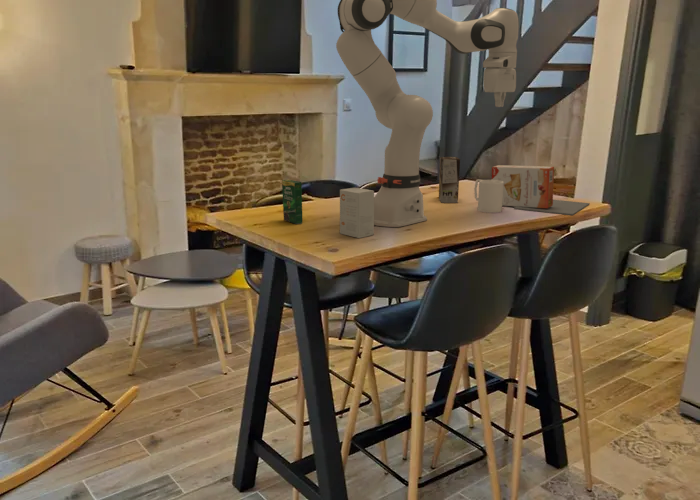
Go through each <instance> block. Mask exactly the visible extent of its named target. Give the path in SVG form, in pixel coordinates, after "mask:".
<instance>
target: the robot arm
mask: <svg viewBox="0 0 700 500" xmlns="http://www.w3.org/2000/svg"><path fill="white" fill-rule="evenodd" d="M337 5H338V6H337V18H338V21H339V28H340V31H341V32H342V33H341V34H340V35H339V37H338V38H337V41H336V43H335V44H336V51H337V53H338V55H339V57H340V59H341V61H342V62H343V64H344V66H345V68H346V69H347V71H348V72H349V74H351V76H352V78H353V79H354V80H355V81H356V83H357V84H358V85H359V86H360V87H361V89H362V91H363V92H364V94H366V96H367V98H368V99H369V101H370V102H369V103H370V104H371V106H372V108H373V110H374V111H375V112H374V113H375V117H376V120H377V121H378V123H380V124H381V125H383V126H384V127H386V128H387V129H391V134H390V137H389V141H388V143H387V145H386V147H385V149H384V173H383V174H382V177H380V176H378V177H377V180H376V181H377V184H380V188H379V190H378V191H377V192H376V194H374V226H378V227H379V226H380V227H385V228H386V227H389V228H401V227H403V226H409V225H414V224H418V223H421V222H426V221H427V220H428V218H427V216H426V215H424V214H425V213H424V194H423V193H422V192H421V189H420V187H419V186H420V185H421V174H420V156H421V153H420V152H421V147H422V142H423V139H424V136H425V132H426V129H427V127H428V126H429V125H430V124H431V122H432V120H433V117H434V111H433V106H432V105H431V103H430V102H429V101H428V100H427V99H425V98H424V97H422V96H419V95H416V94H406V93H405V92H404V91H403V90H402V88H401V87H400V84H399V82H398V80H397V72H396V71H395V69H394V68H393V66H392V65H391V63H390V62H389V60H388V59H387V58H386V56H385V55H384V54H383V52H382V51H381V49H380V47H378V45H377V44H376V43H375V41H374V38H373V35H372V30H375V29H377V28H379V27H381V26H382V25H383V24H384V23H385V21H386V20H387V18H388V17H389V15H393V16H395V17H398V18H400V19H401V20H403V21H406V22H407V23H411V24H413V25H417V26H419V27H421V28H423V29H425V30H427V31H429V32H430V33H432V34H434V35H436V36H438V37H439V38H441V39H443V40H445V42H447V44H449V46H450V47H451V48H452V49H453V50H454V51H455V52H456V53H459V54H462V55H466V54H469V53H476V52H483V51H486V50H487V51H488V56H487V58H485V59H484V60H483V61H482V62H483V63H482V67H483V68H484V70H483V90H484V93H493V98H494V102H495V105H494V106H495V107H496V108H503V107H504V102H505V99H506V97H507V93H515V91H516V88H517V72H516V68H517V58H518V49H517V43H518V39H519V28H520V27H519V25H520V23H519V15H518V13H517V12H516V11H515V10H514V9H512V8H511V9H510V8H508V7H496V8H494V9H493V10H491V12H490V13H488V14H486V15H484V16H481V17H479V18H477V19H471V20H464V21H463V20H462V21H457V20H454V19H452V18H450V17H449V16H448V15H445V14H443V13H442V12H440V11H439V10H438V9H437V5H438V1H437V0H339V2H338V4H337Z"/></svg>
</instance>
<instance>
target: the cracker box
mask: <svg viewBox="0 0 700 500" xmlns="http://www.w3.org/2000/svg"><path fill="white" fill-rule="evenodd" d="M554 174H555V166H546V165H545V166H543V165H540V166H539V165H538V166H537V165H509V164H508V165H507V164H506V165H505V164H504V165H498V164H497V165H494V166H492V167H491V180H499V181H503V182H504V186H503V201H502V207H503V206H506V207H516V206H518V207H532V208H549V207H551V206H553V200H554V199H553V198H554V182H555V180H554V177H555V176H554Z"/></svg>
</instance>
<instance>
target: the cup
mask: <svg viewBox="0 0 700 500" xmlns="http://www.w3.org/2000/svg"><path fill="white" fill-rule="evenodd" d="M503 186H504V182H503V181H499V180H492V179H479V178H477V179H476V180H475V183H474V188H473V189H474V190H473V191H474V199H475V200H476V201H477V211H478V212H482V213H491V214H493V213H494V214H495V213H500V212H502V211H503V206H502V201H503ZM477 190H478V191H477Z"/></svg>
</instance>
